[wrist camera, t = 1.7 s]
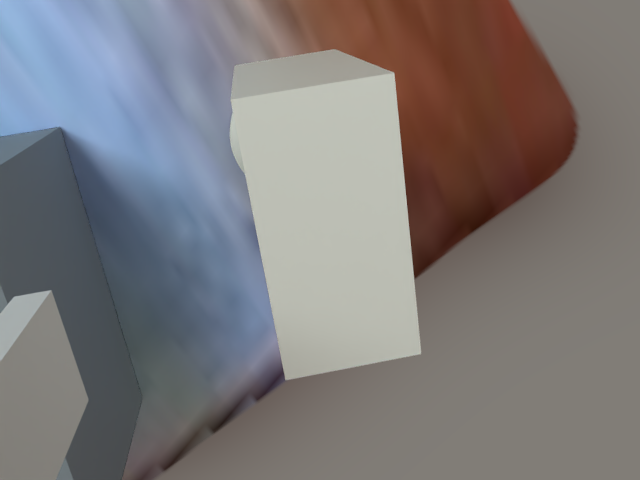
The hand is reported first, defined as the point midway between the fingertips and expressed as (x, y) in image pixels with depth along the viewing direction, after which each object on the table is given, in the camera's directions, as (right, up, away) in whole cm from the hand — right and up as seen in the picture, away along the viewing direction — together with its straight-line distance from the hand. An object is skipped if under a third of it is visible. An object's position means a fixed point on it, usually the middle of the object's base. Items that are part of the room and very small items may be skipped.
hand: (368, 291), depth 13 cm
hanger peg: (-3, +7, +18) cm, 19 cm away
